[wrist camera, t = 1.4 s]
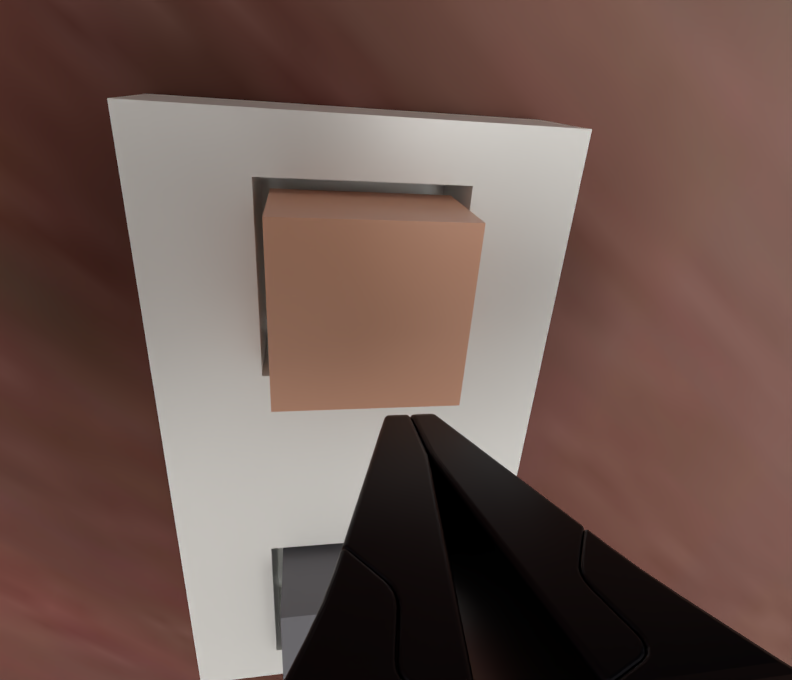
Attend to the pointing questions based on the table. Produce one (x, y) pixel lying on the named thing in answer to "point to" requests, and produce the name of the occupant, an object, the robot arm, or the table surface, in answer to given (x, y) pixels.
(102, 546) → the table surface
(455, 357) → the key
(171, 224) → the white base plate
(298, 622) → the key
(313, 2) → the table surface
